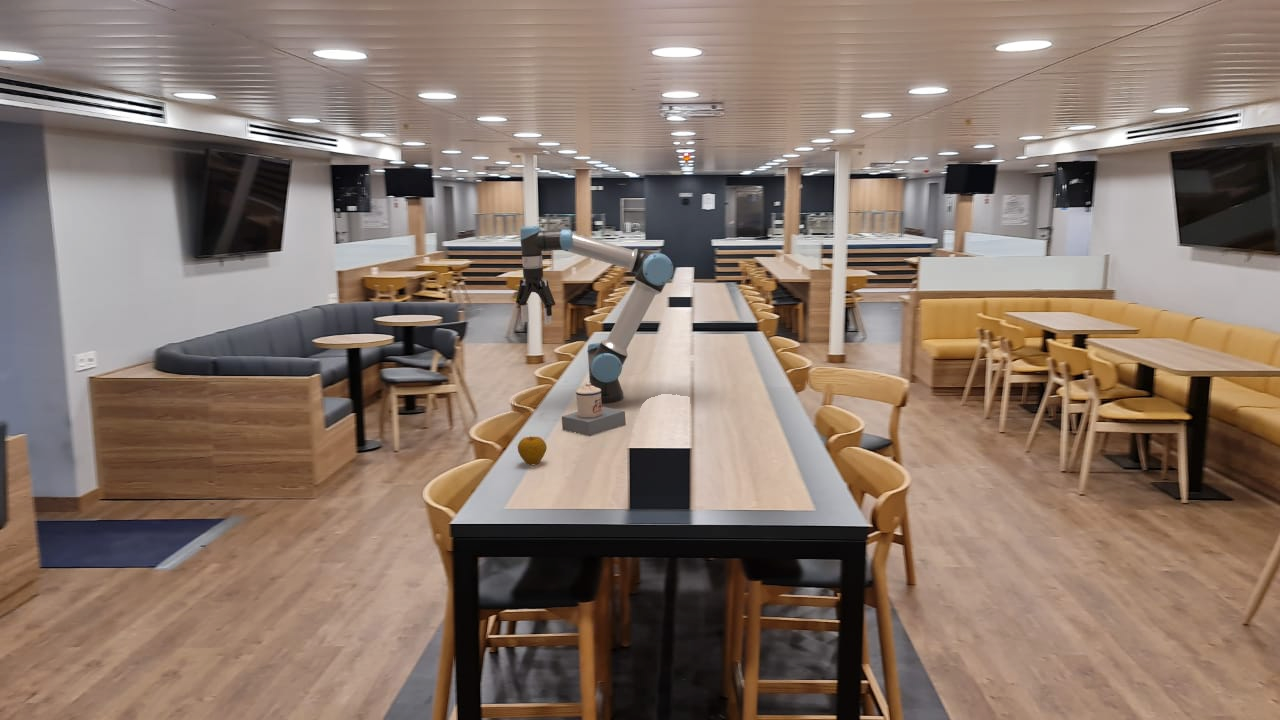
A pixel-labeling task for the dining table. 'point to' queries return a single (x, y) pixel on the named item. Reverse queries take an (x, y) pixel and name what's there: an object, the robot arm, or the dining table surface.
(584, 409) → the teacup with lid
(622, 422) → the charcoal rectangular block
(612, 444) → the dining table surface
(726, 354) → the dining table surface
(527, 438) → the apple
